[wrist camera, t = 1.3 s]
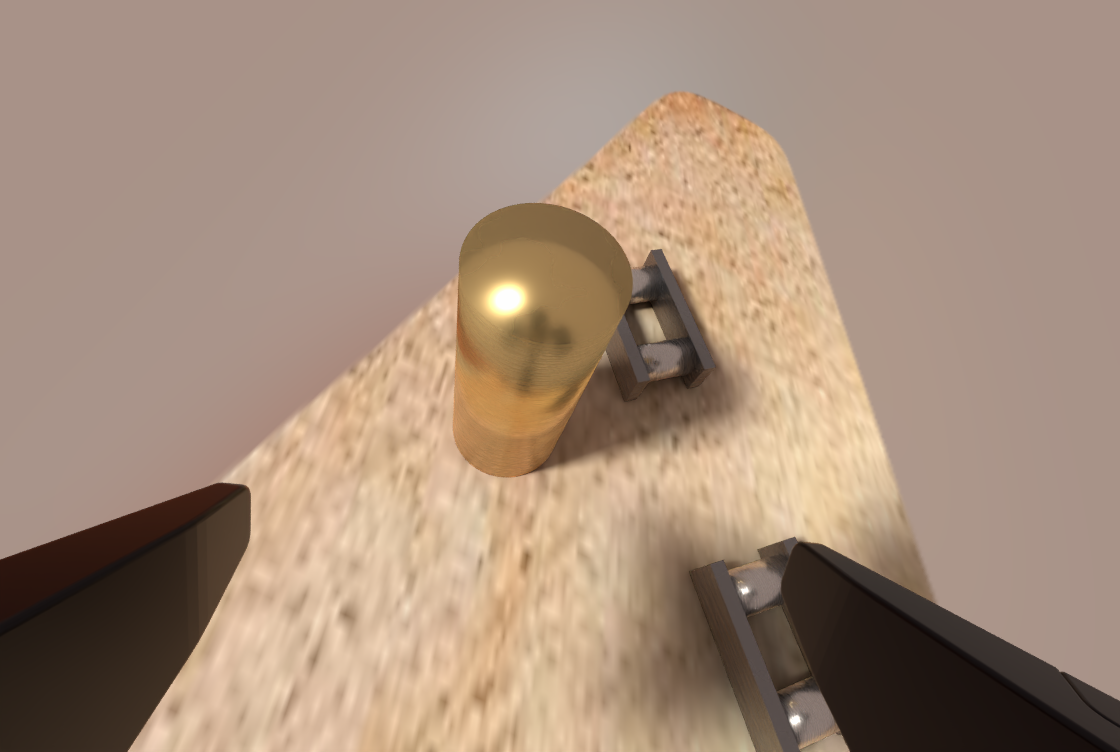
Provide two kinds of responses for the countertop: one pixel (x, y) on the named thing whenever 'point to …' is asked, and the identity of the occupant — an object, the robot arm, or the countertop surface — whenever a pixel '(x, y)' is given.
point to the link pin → (531, 330)
